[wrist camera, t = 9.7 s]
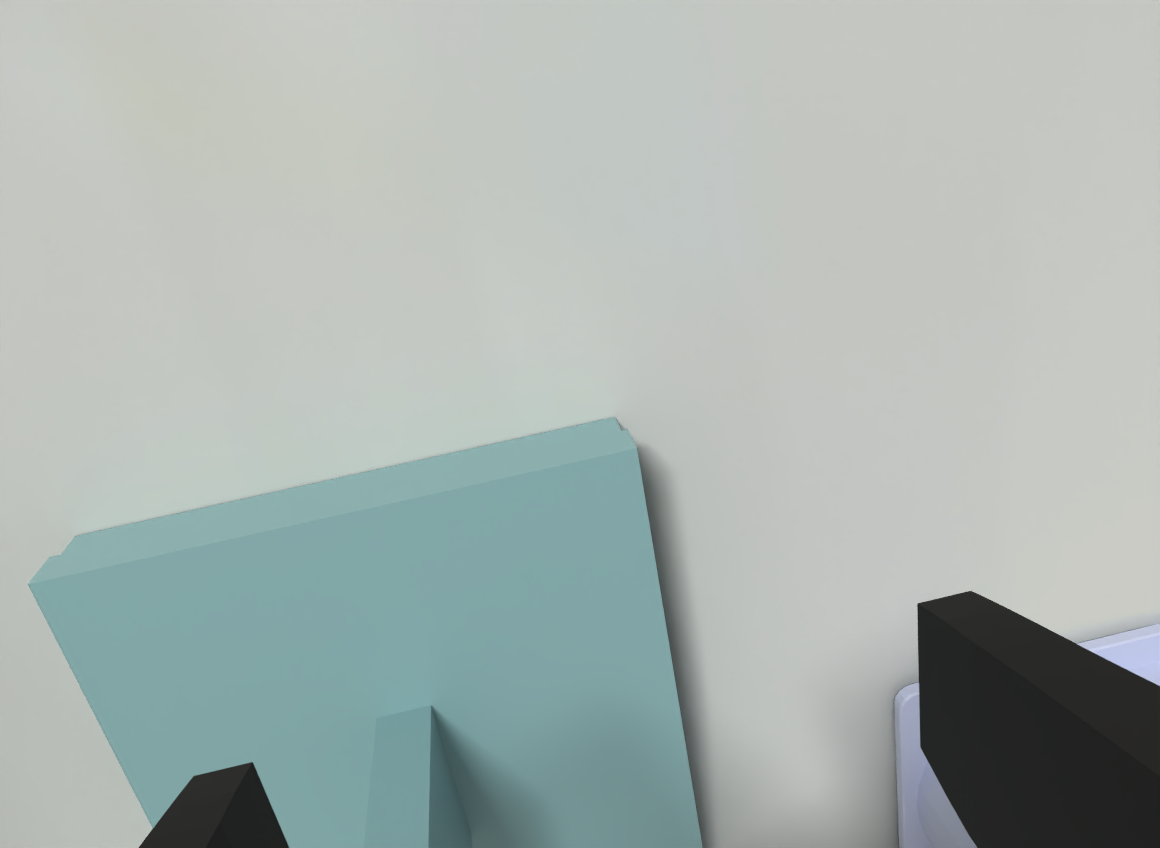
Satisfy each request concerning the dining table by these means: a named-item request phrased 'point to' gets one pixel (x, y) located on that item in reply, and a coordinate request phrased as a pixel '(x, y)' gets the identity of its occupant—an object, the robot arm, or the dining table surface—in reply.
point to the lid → (399, 651)
